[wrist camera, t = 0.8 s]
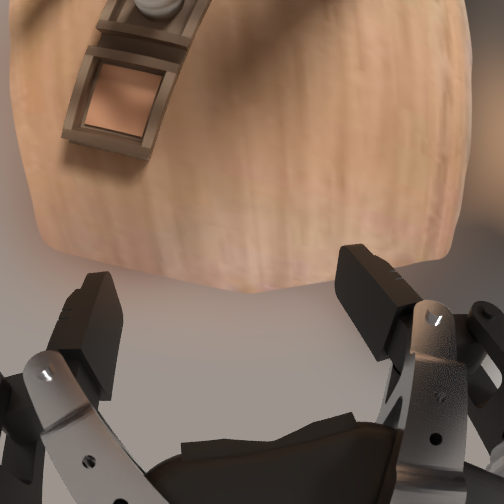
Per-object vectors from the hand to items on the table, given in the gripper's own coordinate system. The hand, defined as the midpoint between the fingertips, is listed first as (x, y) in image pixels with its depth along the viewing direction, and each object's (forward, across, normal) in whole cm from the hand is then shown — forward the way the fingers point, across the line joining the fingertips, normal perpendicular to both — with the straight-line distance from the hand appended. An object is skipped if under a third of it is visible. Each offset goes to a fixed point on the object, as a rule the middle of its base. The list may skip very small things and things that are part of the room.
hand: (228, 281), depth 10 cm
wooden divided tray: (+27, +6, -12) cm, 30 cm away
